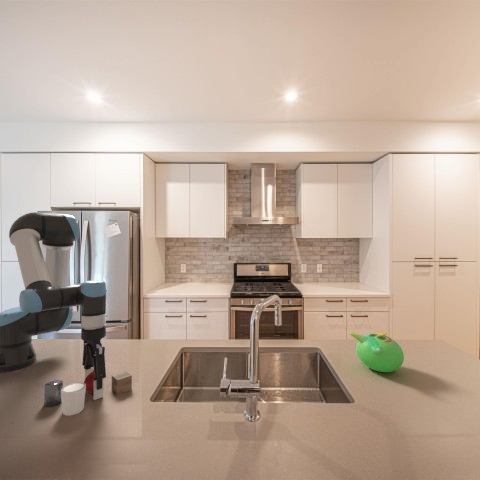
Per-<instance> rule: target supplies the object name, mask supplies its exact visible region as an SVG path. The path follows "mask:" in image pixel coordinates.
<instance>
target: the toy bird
mask: <svg viewBox="0 0 480 480" xmlns="http://www.w3.org/2000/svg"><path fill="white" fill-rule="evenodd" d="M387 334H388V333H387V332H381V333H380V332H378V333H367V334H365V335H363V334H362V335H361V334H359V333H355V332H350V333H349V335H350V336H351V337H353V338H354V339H355V340H357V343H356V346H355V347H356V348H355V349H356V353H357V356H358V358H359V360H360V362H362V363H363V364H364V365H365V366H366V367H367V368H369V369H371V370H373V371H376V372H379V373H391V372H392V373H393V372H395V371H398V369H400V368H401V366H402V365H403V363H404V361H405V354H404V351H403V349H402V347H401V346H400V344H399V343H398V342H397V341H396V340H394V339H393V338H391V337H390V336H387Z"/></svg>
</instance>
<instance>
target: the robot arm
mask: <svg viewBox="0 0 480 480" xmlns="http://www.w3.org/2000/svg"><path fill="white" fill-rule="evenodd" d="M8 232H9V233H8V236H9V242H10V244H11V245H12V246H14V248H15V253H16V256H17V262H18V264H19V269H20V273H21V277H22V278H21V279H22V282H23V287H24V289H23V290H21V291H20V293H19V298H18V299H19V301H18V302H19V306H16V307H12V308H9V309H5V310H3V311H1V312H0V373H3V372H4V373H6V372H12V371H16V370H21V369H24V368H27V367H30V366H31V365H32V364H34V363H36V362H37V353H36V349H35V347H34V346H33V343H32V342H33V341H32V337H34V336H40V335H45V334H49V333H54V332H59V331H62V330H63V331H64V330H67V328H69V327H70V326H71V323H72V320H73V316H74V315H73V314H74V313H73V307H77V306H80V309H81V315H80V319H81V320H80V327H81V330H80V334H81V335H80V338H81V340H82V341H83V352H82V364H81V365H82V366H83V370H84V379H85V378H86V377H87V376H88V375H89V374H90V373H91V372H92V371H93V370H94V375H95V379H92V380H93V381H94V393H93V401H96V400H98V399H101V398H104V379H106V378H107V373H106V370H107V368H106V359H105V357H106V356H105V355H106V354H105V349H106V348H105V346H103V344H102V343H101V342H102V341H101V340H102V339H103V338H105V337H106V336H107V323H106V322H107V321H106V320H107V319H106V318H107V317H108V314H107V312H106V311H107V285H106V284H107V283H106V281H104V280H100V279H99V280H98V279H97V280H96V279H94V280H85V281H83V282H77V283H75V284H71V285H67V280H68V278H67V277H68V268H69V267H68V265H69V253H70V248H72V247H73V246H74V242H76V241H78V240H79V238H80V227H79V223H78V220H77V218H76V217H75V216H73V215H71V214H66V213H65V214H64V213H52V212H51V213H50V212H47V213H46V212H36V211H35V212H28V213H25V214H23V215H21V216H19V217H18V218H16V219H15V221H13V223H12V224H11V227H10V229H9V231H8ZM40 241H41V244H42V246H44V248H45V257H44V254H43V252H42V248H41V245H40Z"/></svg>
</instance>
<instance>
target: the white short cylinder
mask: <svg viewBox="0 0 480 480" xmlns="http://www.w3.org/2000/svg"><path fill="white" fill-rule="evenodd" d="M86 392H87V391H86V384H85V383H84V382H83V381H82V382H81V381H78V382H73V383H69V384H66V385H65V386H64V385H63V388H62V389H61V401H62V402H61V410H62V414H63V415H64V416H67V417H68V416H73V415H77V414H80V412H83V410H85V400H86Z"/></svg>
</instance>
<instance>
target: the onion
mask: <svg viewBox="0 0 480 480" xmlns="http://www.w3.org/2000/svg"><path fill="white" fill-rule="evenodd" d="M92 379H95V375H94V370H93V371H92V372H91V373H90V374H89V375H88V376H87V377H86V378H85V377H84V382H83V383H85V384H86V391H85V392H88V393H90V394H94V381H93V380H92Z"/></svg>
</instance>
